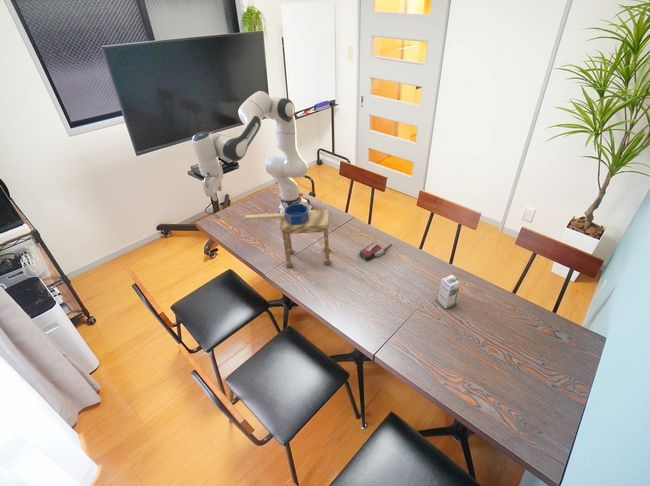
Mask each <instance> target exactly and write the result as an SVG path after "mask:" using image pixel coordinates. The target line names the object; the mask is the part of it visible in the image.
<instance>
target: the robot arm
mask: <svg viewBox="0 0 650 486" xmlns="http://www.w3.org/2000/svg"><path fill="white" fill-rule="evenodd" d="M295 111H296V108H295V105H294V103H293V101H292V100H291V99H290V98H286V97H278V96H273V97H272V96H270V95H269V94H268V93H267V92H265V91H263V90H258V91H256V92H254V93H252V95H250V96H249V97H247V98H246V99H245V101H243V102H242V103H241V105H240V106H239V108H238V112H237V114H238V118H239V120H240V121H241V122H242V124H243V125H244V127H243V128H242V130H241V131H240V133H239V134H238V135H237V136H234V137H233V136H228V135H224V134H221V133H211V132H208V131H199V132H197V133H195V134H194V135H193V136H192V140H191V142H192V149H193V152H194V155H195V158H196V159H197V165H198V168H199V173H200V174H201V176H203V177H204V178H203V180H202V186H203V191H204V194H205V196H206V197H209V198H210V197H211V199H212V201H213V202H217V201H218V199H219V198H218V196H217V195H216V194H217V192H222V191H223V187H222V181H223V179H224V170H223V166H222V165H223V162H222V160H219V158H220V157H221V158H225V159H228V160H230V161H233V162H239V161H240V160H241V161H242V159H243V158H244V157H245V155H246V154H247V150H248V148H249V147H250V145H251V143H252V142H253V140H254V139H255V137H256V136H257V134H258V132H259V131H260V129H261V126H262V120H263V119H269V120H274V121H275V123H276V127H275V130H276V131H275V132H276V133H275V134H276V135H275V137H276V138H275V140H276V141H275V144H276V147H277V149H278V150H280V151H281V152H282V153H283V154H284V156H285V157H283V156H269V157H268V158H267V159H266V160H265V162H264V169H265V171H266V173H267V174H269V175H270V176H271V177H272V178H273V179H274V181H275V182H276V184H277V186H278V189H279V193H280V198H279V200H280V202H279V203H280V205H279V206H278V208H279V209H280V210H279V213H282V212H285V208H286V207H288V206H290V205H291V204H303V205H305V206H307V207H308V210H313V206H312V205H311V204H310V203H311V200H310V199H308V198H306V197H303V195H304V193H303V192H299V184H298V183H297V181H296V180H295V179H299V178H305V177H306V175H307V174H308V170H309V167H308V164H307V161H305V160H304V159H303V157H302V156H301V155H300V153H299V151H298V146H297V123H296V118H295V113H296V112H295Z"/></svg>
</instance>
